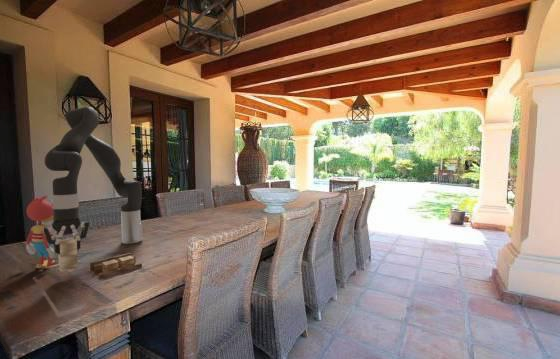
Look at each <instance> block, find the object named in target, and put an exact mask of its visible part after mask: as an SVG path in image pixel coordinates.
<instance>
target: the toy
mask: <svg viewBox="0 0 560 359" xmlns="http://www.w3.org/2000/svg"><path fill="white" fill-rule="evenodd" d="M47 198H48V196H47V195H42V196H41V197H40V196H36V197H35V198H33V200H32V201H31V202H30V203H29V204H28V205H27V207H26V215H27V217H28V218H29V219H30V220H32V221H35V222H37V224H36V225H34V226H32V227H31V228H30V232H29V234H28V236H27V238H26V246H25V250H26V251H27V253H28V254H30V255H32V256H33V255H35V254H36V252H37V256H39V258H40V259H39V261H38V263H37V264H36V265H35V268H36V269H42V268H45V269H49V268H52V267H57V266H58V267H59V262H58V263H57V264H54V263H55V262H56V260H55V259H53V258H54V257H55V255H56V253H55V252H54V246H53V244H49V243H48V242H47V240H46V238H45V235H44V233H43V230H42V228H43V227H49V226H48V225H47V224H42V223H50V222H53V204H51V203H49V202H48V201H45V200H46V199H47ZM50 236H51V238H52V240H54V239H55V235H54V234H53V232H52V231H51V232H50ZM31 241H32V242H33V243H31ZM46 258H47V259H46ZM45 259H46V260H45ZM53 264H54V265H53Z"/></svg>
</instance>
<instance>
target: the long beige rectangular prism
mask: <svg viewBox="0 0 560 359" xmlns="http://www.w3.org/2000/svg"><path fill="white" fill-rule="evenodd" d="M59 244H60V254H57V255H58V263H59V265H58V269H59V272H60V273H61V272H66V271H69V270H70V271H71V270H74V269H77V268H79V265H78V264H79V263H78V251H77V239H76V238H74V237H69V238H63V239H62V238H61V239H60V242H59Z"/></svg>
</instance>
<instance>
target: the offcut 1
mask: <svg viewBox="0 0 560 359" xmlns="http://www.w3.org/2000/svg"><path fill="white" fill-rule="evenodd" d="M115 269H119V265H118V261H116V260H115V259H114V260H110V261H106V262H102V273H104V272H108V271H112V270H115Z"/></svg>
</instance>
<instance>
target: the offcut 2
mask: <svg viewBox="0 0 560 359" xmlns="http://www.w3.org/2000/svg"><path fill="white" fill-rule="evenodd" d="M132 256H133V255H131V256H126V257H122V258H119V268H123V267H127V266H130V265H134V264H135V262H134V257H132Z"/></svg>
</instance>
